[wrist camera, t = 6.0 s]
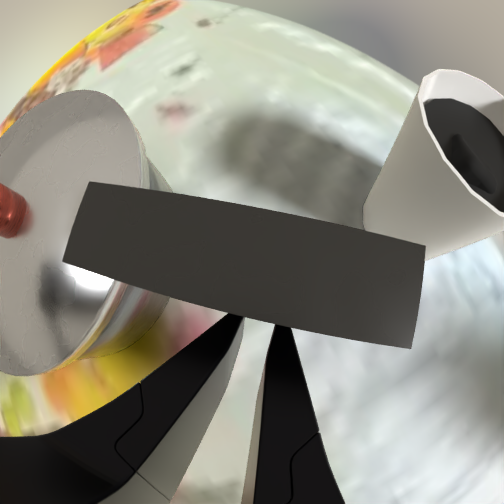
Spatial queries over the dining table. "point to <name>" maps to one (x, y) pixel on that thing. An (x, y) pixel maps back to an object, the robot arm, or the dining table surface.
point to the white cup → (443, 168)
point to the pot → (131, 305)
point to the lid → (167, 246)
